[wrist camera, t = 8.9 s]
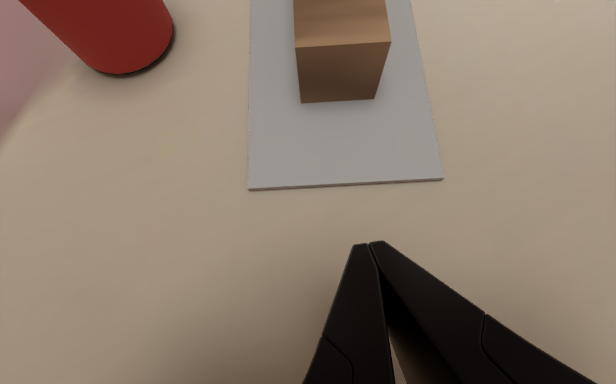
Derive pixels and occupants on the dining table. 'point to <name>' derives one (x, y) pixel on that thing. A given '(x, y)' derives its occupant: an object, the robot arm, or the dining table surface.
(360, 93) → the walnut block
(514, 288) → the dining table surface
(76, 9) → the beer can
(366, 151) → the rubber mat
